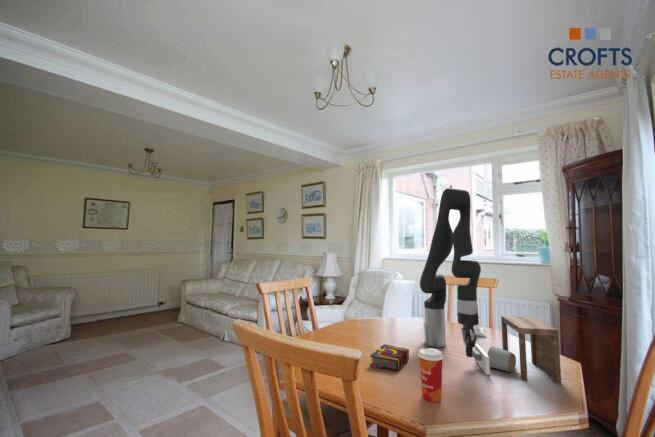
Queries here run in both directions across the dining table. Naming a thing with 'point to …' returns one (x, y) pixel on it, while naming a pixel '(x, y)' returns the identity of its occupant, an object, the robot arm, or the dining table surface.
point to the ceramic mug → (501, 359)
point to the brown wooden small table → (535, 344)
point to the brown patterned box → (389, 357)
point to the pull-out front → (482, 359)
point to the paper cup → (431, 373)
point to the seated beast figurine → (479, 330)
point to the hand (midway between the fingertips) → (469, 356)
